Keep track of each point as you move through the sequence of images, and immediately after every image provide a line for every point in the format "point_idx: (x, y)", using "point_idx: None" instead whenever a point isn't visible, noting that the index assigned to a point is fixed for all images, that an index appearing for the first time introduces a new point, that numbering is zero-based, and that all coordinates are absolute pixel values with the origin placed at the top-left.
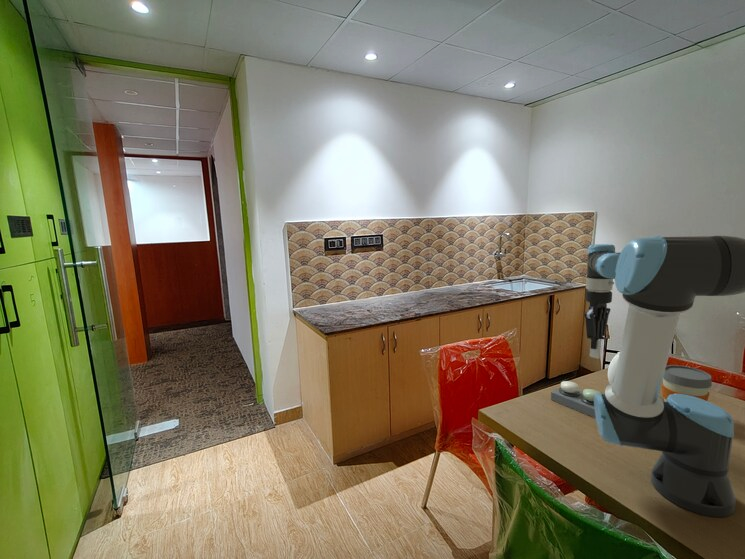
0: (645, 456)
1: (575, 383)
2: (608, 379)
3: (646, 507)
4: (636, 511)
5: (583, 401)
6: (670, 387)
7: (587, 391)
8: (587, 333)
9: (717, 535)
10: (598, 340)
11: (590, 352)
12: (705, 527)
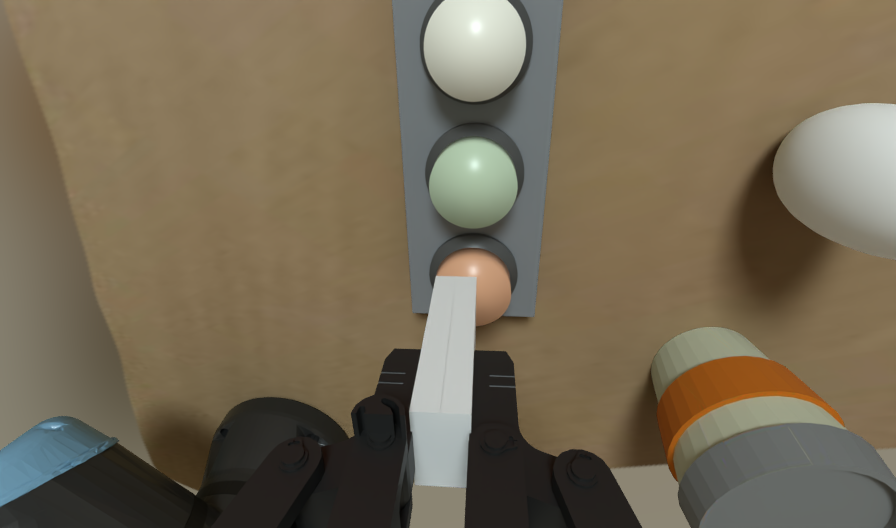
0: (331, 369)
1: (519, 64)
2: (819, 117)
3: (162, 413)
4: (133, 407)
5: (428, 155)
6: (692, 435)
7: (464, 166)
8: (230, 516)
9: None
10: (415, 479)
11: (430, 304)
12: None
